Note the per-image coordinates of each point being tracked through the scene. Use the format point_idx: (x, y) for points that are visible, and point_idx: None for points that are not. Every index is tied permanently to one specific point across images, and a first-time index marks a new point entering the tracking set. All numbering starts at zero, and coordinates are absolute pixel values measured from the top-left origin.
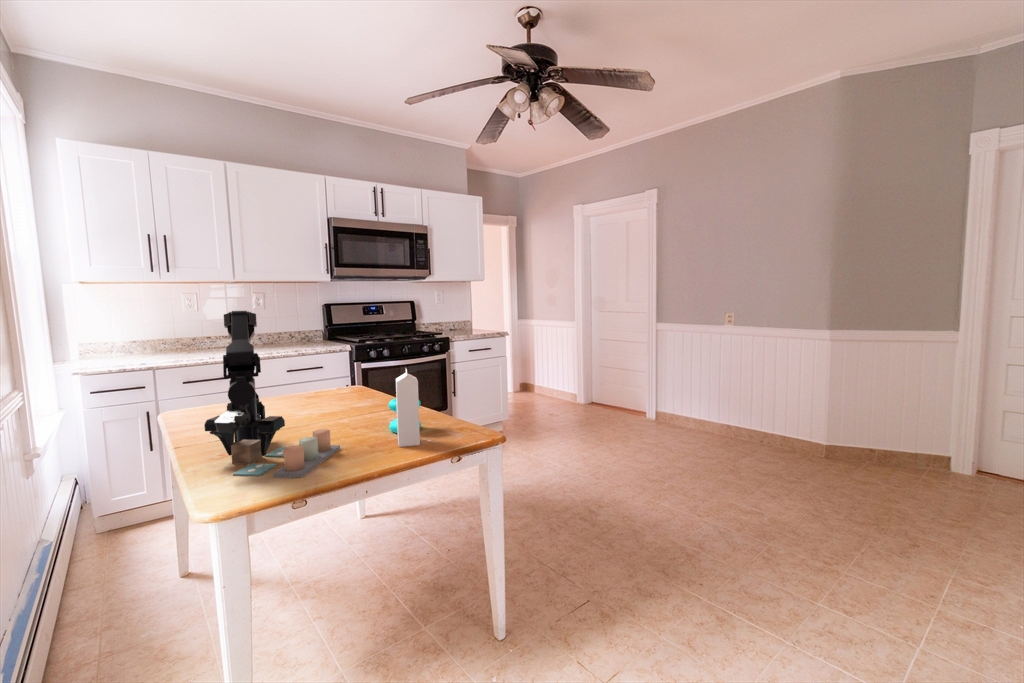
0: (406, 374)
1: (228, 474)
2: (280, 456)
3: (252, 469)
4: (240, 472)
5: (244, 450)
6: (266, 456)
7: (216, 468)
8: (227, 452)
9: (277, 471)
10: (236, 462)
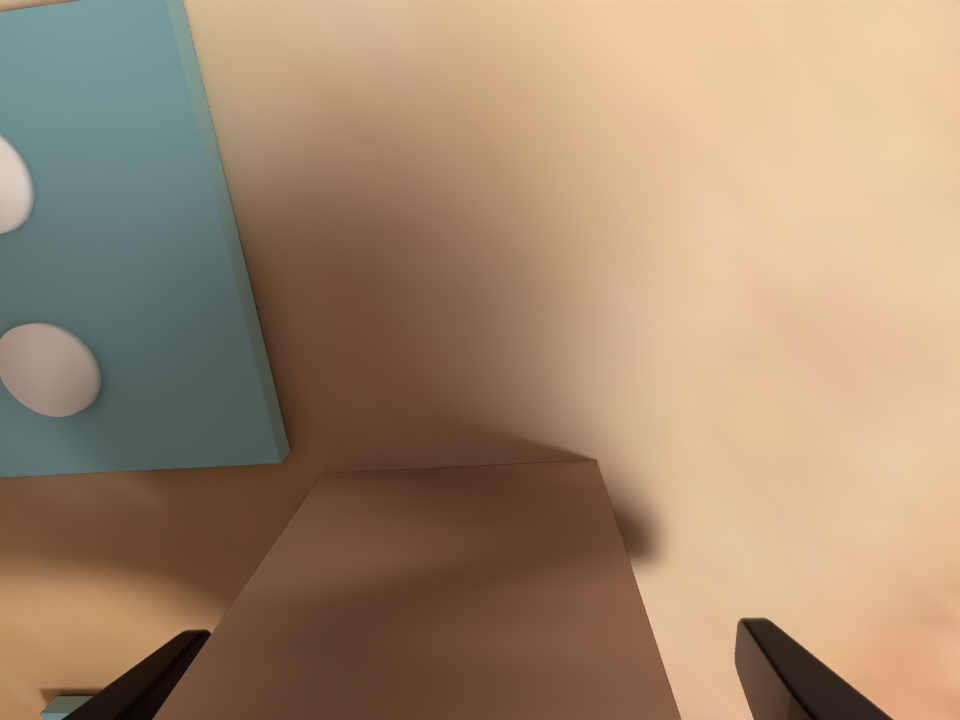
0: None
1: (303, 37)
2: None
3: None
4: (92, 79)
5: (326, 644)
6: None
7: (716, 263)
8: (808, 657)
9: None
10: (530, 476)
